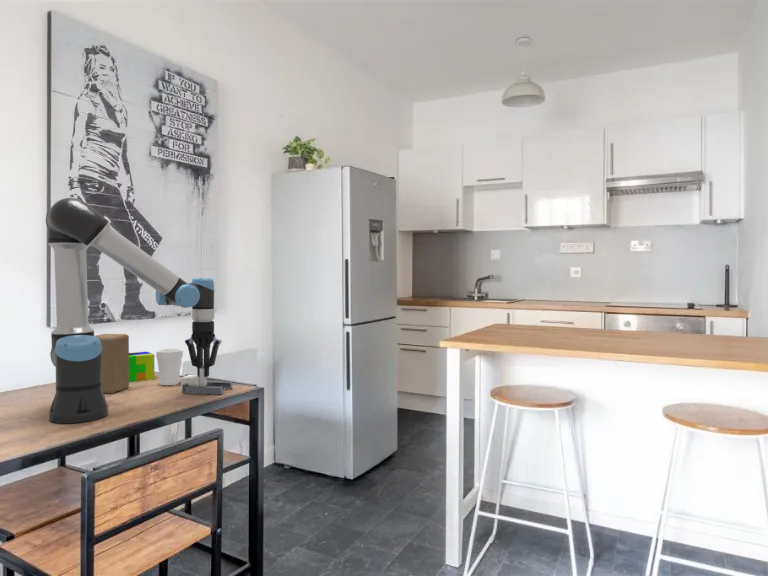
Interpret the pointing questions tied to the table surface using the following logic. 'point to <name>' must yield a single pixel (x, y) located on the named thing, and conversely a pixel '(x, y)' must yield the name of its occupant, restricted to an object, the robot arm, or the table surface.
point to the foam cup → (169, 365)
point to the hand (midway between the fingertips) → (203, 385)
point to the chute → (207, 388)
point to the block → (190, 380)
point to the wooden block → (114, 362)
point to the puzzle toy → (141, 366)
